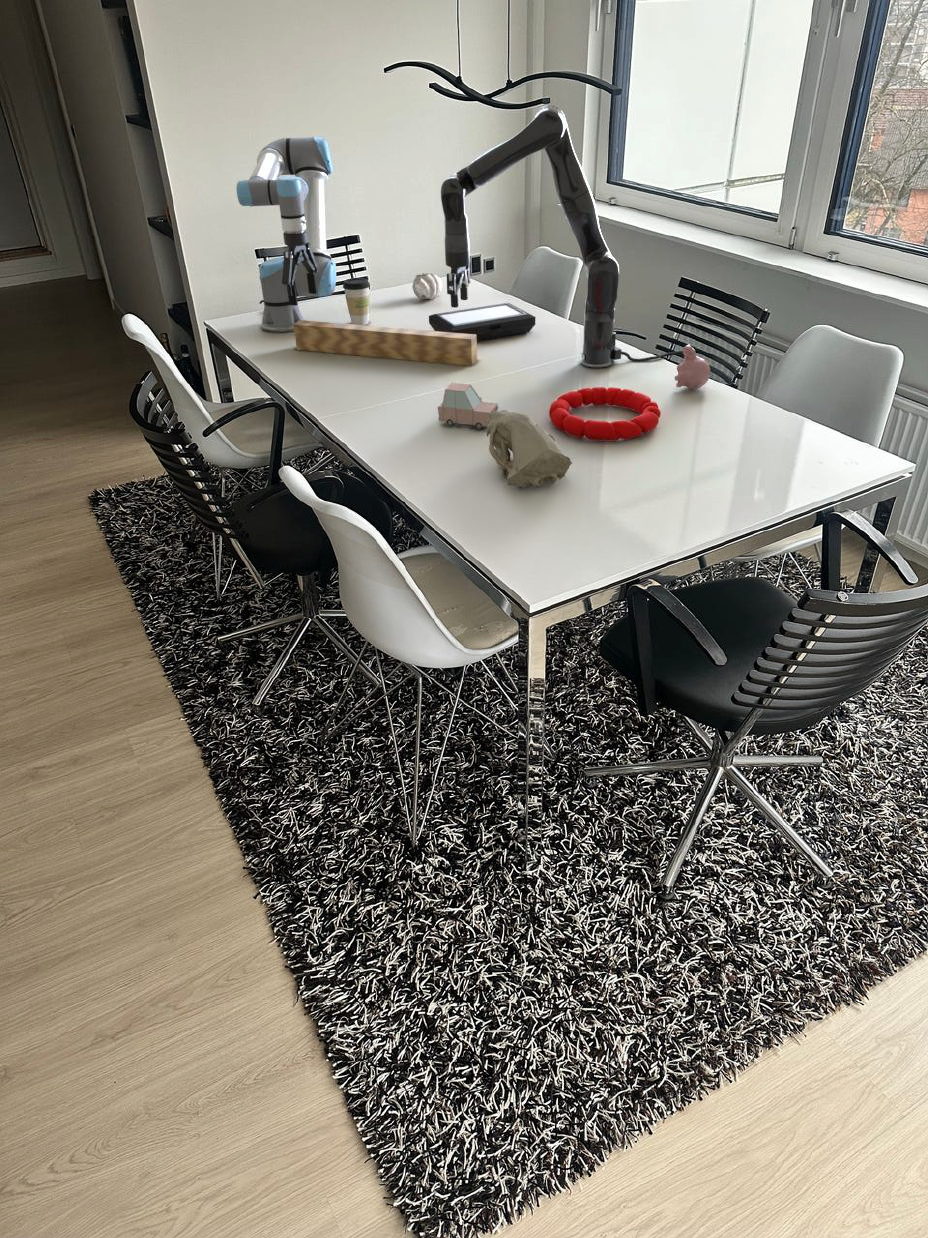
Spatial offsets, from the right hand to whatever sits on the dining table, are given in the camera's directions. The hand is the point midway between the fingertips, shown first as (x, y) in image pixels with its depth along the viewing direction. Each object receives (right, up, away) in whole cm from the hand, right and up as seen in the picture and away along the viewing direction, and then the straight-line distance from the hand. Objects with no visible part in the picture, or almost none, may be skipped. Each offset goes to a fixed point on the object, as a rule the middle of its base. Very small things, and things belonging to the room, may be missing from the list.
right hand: (459, 303), depth 278 cm
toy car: (+3, -45, -32) cm, 55 cm away
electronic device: (+8, +2, +36) cm, 37 cm away
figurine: (+68, -31, -15) cm, 76 cm away
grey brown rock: (+15, -62, -58) cm, 86 cm away
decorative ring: (+40, -45, -34) cm, 69 cm away
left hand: (-52, +8, +18) cm, 55 cm away
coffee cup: (-37, +10, +49) cm, 62 cm away
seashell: (-13, +28, +74) cm, 79 cm away
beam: (-25, -11, +19) cm, 33 cm away
